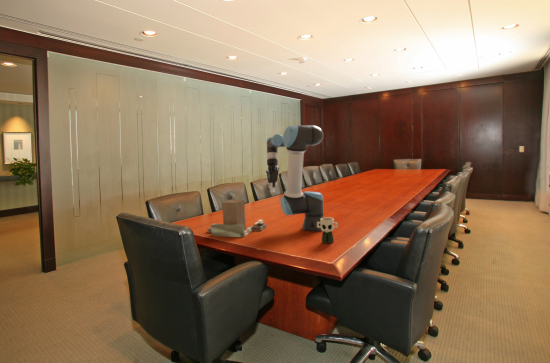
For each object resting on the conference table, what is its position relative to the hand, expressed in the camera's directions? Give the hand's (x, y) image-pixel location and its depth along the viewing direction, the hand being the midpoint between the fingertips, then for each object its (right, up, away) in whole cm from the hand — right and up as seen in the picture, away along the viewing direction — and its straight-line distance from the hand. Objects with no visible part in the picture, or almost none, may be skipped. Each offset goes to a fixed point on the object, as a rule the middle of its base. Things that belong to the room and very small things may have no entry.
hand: (272, 192), depth 210 cm
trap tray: (-22, -24, -11) cm, 34 cm away
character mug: (+30, -25, -47) cm, 61 cm away
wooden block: (-23, -25, -19) cm, 39 cm away
